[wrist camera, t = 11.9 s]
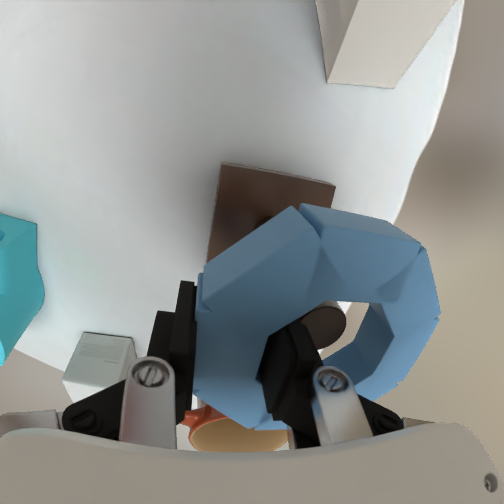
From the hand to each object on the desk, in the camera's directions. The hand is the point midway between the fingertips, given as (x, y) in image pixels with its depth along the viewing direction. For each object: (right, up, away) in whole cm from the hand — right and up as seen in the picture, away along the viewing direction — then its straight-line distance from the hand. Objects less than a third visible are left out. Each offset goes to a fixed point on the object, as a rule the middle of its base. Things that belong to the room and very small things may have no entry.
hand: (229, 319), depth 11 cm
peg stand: (+2, +5, +12) cm, 14 cm away
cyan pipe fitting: (-25, +1, +11) cm, 27 cm away
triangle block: (+6, +24, -3) cm, 24 cm away
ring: (+3, 0, +1) cm, 4 cm away
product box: (-15, -9, +17) cm, 24 cm away
